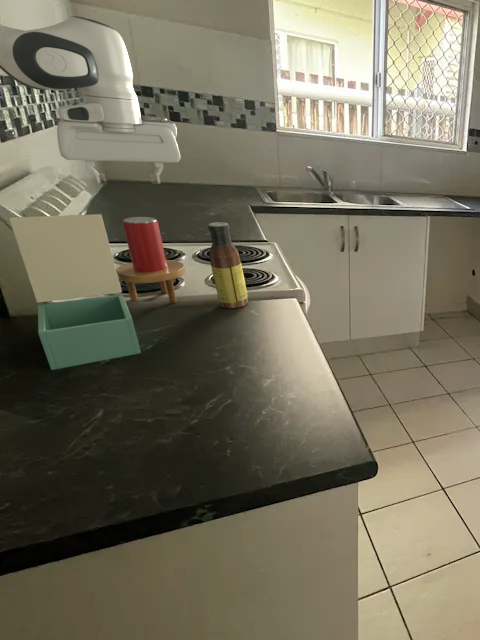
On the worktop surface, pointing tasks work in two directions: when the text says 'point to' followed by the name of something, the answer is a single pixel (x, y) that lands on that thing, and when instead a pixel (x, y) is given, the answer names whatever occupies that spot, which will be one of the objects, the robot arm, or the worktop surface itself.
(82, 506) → the worktop surface
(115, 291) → the lid
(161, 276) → the stool
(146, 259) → the can
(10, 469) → the worktop surface
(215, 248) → the sauce bottle
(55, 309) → the box
